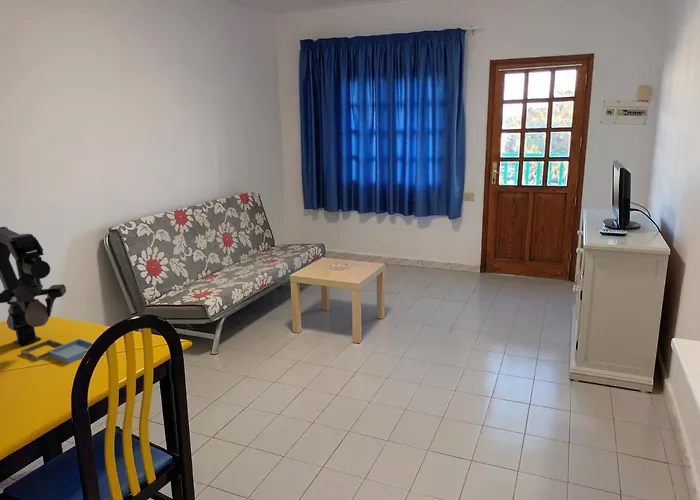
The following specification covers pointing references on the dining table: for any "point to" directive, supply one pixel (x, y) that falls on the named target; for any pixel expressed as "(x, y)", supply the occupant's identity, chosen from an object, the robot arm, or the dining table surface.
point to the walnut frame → (25, 351)
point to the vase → (36, 313)
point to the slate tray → (70, 351)
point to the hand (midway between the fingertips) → (37, 317)
